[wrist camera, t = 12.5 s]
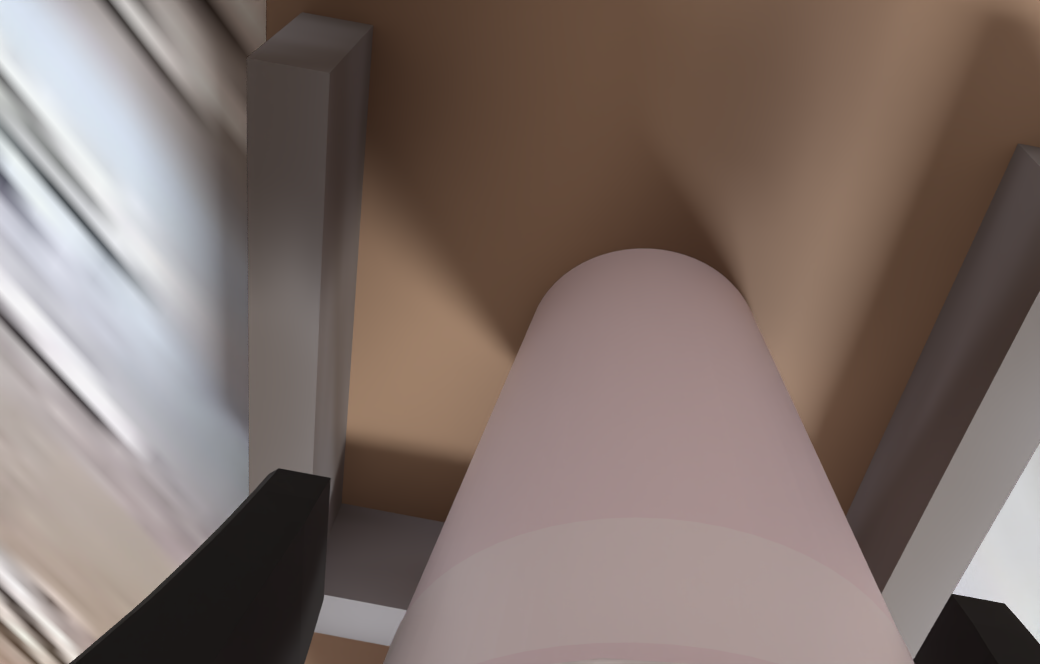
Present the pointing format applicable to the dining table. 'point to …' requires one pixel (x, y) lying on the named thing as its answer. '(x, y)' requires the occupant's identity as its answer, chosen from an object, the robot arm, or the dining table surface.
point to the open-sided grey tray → (644, 247)
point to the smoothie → (646, 496)
